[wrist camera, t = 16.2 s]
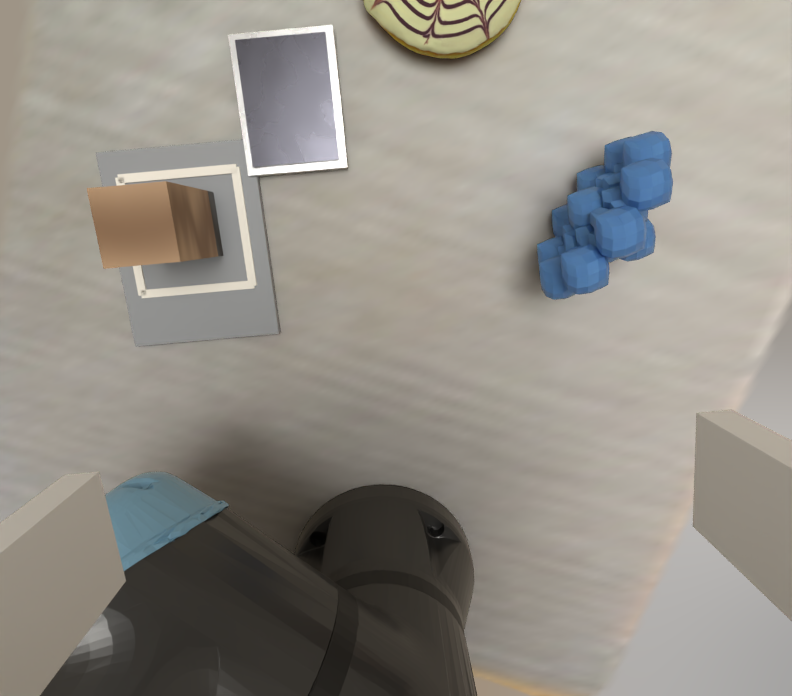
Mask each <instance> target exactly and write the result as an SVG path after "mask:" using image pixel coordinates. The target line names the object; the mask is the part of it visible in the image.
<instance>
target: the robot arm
mask: <svg viewBox="0 0 792 696" xmlns="http://www.w3.org/2000/svg"><path fill="white" fill-rule="evenodd" d="M228 506H229V504H227V503H226V502H225V501H223V500H222V501H216V500H214V499H213V498H211V497H209V496H208V495H206V494H204V493H203V492H201V491H199V490H198V489H196V488H195V487H193V486H191V485H190V484H188V483H186V482H185V481H183V480H181V479H180V478H178V477H176V476H174V475H172V474H169V473H166V472H148V473H144V474H140V475H138V476H135V477H133V478H131V479H129V480H127V481H125V482H124V483H122V484H120V485H119V486H117V487H116V488H114V489H113V490H112V491H110V492H109V493H107V494H106V495H105V493H104V489H103V485H102V481H101V477H100V473H99V472H89V473H79V474H69V475H64V476H62V477H61V478H60V479H58V480H57V481H56V482H54V483H53V484H52V485H50V486H49V487H48V488H46V489H45V490H44V491H42V492H41V493H40V494H38V495H37V496H36V497H34V498H33V499H32V500H30V501H29V502H28V503H26V504H25V505H24V506H22V507H21V508H20V509H18V510H17V511H16V512H14V513H13V514H12V515H10V516H9V517H8V518H6V519H5V520H4V521H2V522H1V523H0V696H477V692H476V687H475V682H474V678H473V673H472V668H471V663H470V658H469V654H468V649H467V644H466V640H465V634H464V628H465V624H466V619H467V615H468V611H469V606H470V602H471V598H472V593H473V587H474V568H473V562H472V557H471V553H470V549H469V545H468V542H467V539H466V536H465V534H464V532H463V530H462V528H461V526H460V525H459V523H458V522H457V520H456V519H455V518H454V516H453V515H452V514H451V513H450V512H449V511H448V510H447V509H446V508H445V507H444V506H442V505H441V504H440V503H439V502H437V501H436V500H434V499H432V498H431V497H429V496H427V495H425V494H423V493H421V492H418V491H415V490H412V489H409V488H405V487H400V486H392V485H374V486H367V487H361V488H358V489H354V490H351V491H348V492H346V493H343V494H341V495H339V496H337V497H335V498H334V499H332V500H330V501H329V502H328V503H326V504H325V505H324V506H322V507H321V508H320V509H319V510H318V511H317V512H316V513H315V514H314V515H313V516H312V517H311V519H310V520H309V521H308V523H307V524H306V526H305V527H304V529H303V531H302V533H301V536H300V538H299V541H298V544H297V547H296V551H295V554H293V553H291V552H290V551H288V550H287V549H285V548H284V547H283V546H281V545H280V544H278V543H277V542H275V541H274V540H272V539H271V538H270V537H268V536H267V535H265V534H264V533H262V532H261V531H259V530H258V529H257V528H255V527H254V526H252V525H251V524H249V523H248V522H246V521H245V520H244V519H242V518H241V517H239V516H238V515H236V514H235V513H233V512H232V511H231V510H229V509H228V508H227V507H228ZM693 527H694V528H695V529H696V530H697V531H698V532H699V533H700V534H701V535H702V536H704V537H705V538H706V539H707V540H708V541H709V542H710V543H711V544H712V545H713V546H714V547H715V548H716V549H717V550H718V551H719V552H720V553H721V554H722V555H723V556H724V557H726V559H728V561H730V562H731V563H732V564H733V565H734V566H735V567H736V568H737V569H738V570H739V571H740V572H741V573H742V574H743V575H744V576H745V577H746V578H747V579H748V580H750V582H751V583H752V584H753V585H755V586H756V587H757V588H758V589H759V590H760V591H761V592H762V593H763V594H764V595H765V596H766V597H767V598H768V599H769V600H770V601H771V602H772V603H773V604H774V605H775V606H776V607H777V608H778V609H779V610H781V611H782V612H783V613H784V614H785V615H786V616H787V617H788V618H789V619H790V620H791V621H792V440H790V439H788V438H786V437H784V436H782V435H780V434H778V433H776V432H774V431H772V430H770V429H768V428H767V427H765V426H763V425H761V424H759V423H756V422H755V421H753V420H751V419H749V418H747V417H745V416H743V415H741V414H739V413H737V412H735V411H733V410H722V411H712V412H702V413H697V414H696V443H695V473H694V503H693Z"/></svg>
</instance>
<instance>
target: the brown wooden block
mask: <svg viewBox="0 0 792 696" xmlns="http://www.w3.org/2000/svg"><path fill="white" fill-rule="evenodd" d="M87 192H88V197H89V202H90V206H91V211H92V216H93V220H94V225H95V230H96V235H97V239H98V244H99V249H100V254H101V258H102V263H103V268H104V269H106V268H117V267H128V266H139V265H150V264H162V263H173V262H183V261H190V260H197V259H204V258H211V257H218V256H224V255H223V249H222V243H221V237H220V230H219V224H218V218H217V211H216V205H215V199H214V193H213V192H211V191H206V190H202V189H198V188H193V187H189V186H185V185H180V184H176V183H172V182H167V181H163V182H152V183H141V184H130V185H119V186H107V187H96V188H87Z"/></svg>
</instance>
